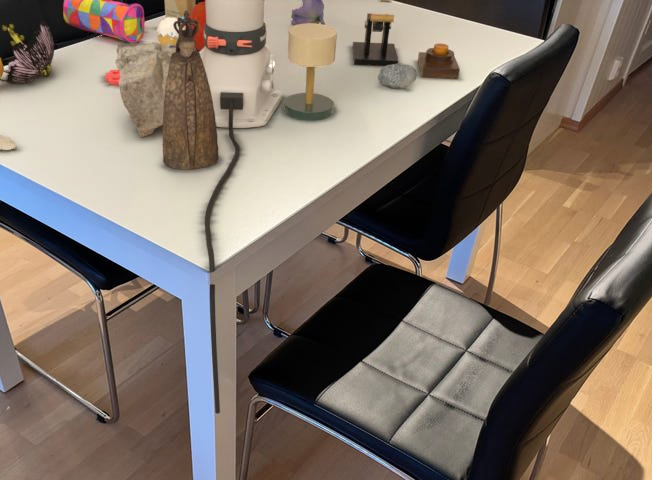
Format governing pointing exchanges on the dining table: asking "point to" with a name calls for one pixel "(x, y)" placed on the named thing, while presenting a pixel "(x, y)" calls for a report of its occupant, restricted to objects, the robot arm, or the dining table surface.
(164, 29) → the ornament
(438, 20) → the dining table surface
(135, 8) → the pencil case
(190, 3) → the cosmetic box
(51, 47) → the decorative flower
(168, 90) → the statue
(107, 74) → the building block
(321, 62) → the lamp
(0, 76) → the potato
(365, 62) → the switch bracket
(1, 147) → the arrowhead
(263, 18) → the robot arm
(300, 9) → the flower
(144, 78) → the stone
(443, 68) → the button block
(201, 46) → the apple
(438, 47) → the button
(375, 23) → the switch lever
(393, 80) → the grey rock
